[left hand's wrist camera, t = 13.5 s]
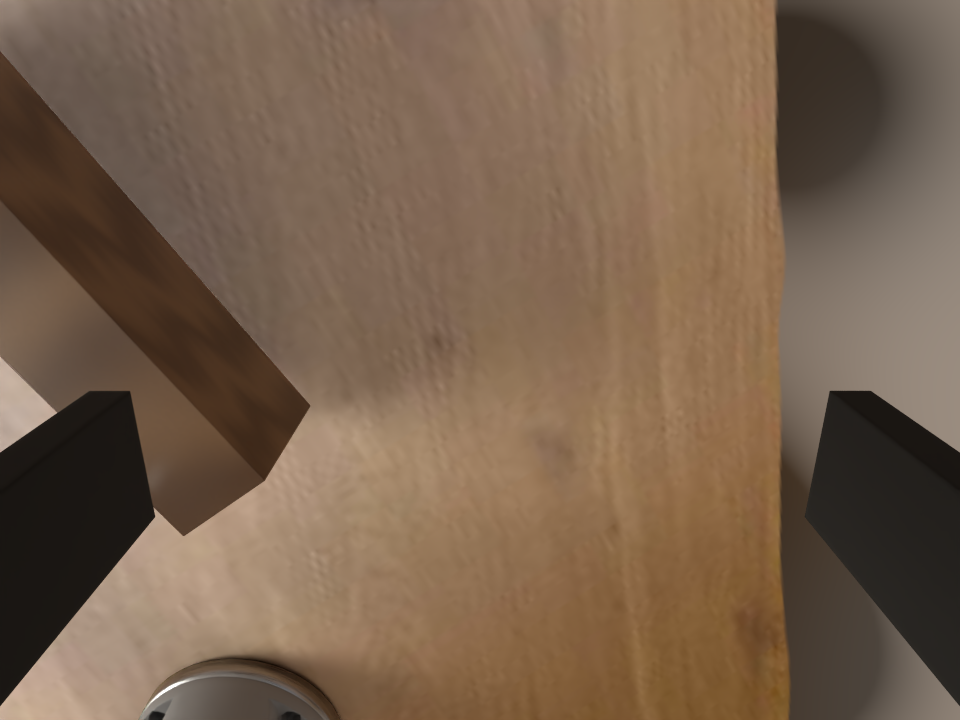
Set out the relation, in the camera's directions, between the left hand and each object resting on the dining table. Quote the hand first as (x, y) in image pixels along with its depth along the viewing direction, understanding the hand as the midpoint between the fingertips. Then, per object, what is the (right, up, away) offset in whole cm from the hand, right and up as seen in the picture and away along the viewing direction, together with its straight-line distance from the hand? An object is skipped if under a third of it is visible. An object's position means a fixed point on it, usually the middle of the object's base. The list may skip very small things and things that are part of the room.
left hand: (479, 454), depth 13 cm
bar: (-20, +8, +23) cm, 31 cm away
